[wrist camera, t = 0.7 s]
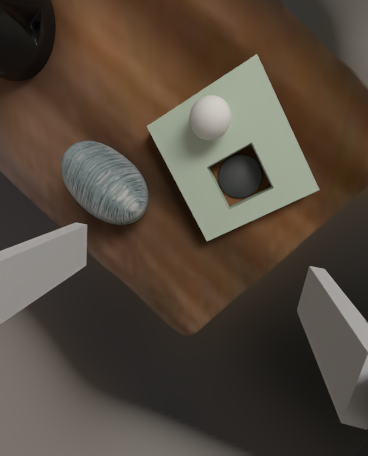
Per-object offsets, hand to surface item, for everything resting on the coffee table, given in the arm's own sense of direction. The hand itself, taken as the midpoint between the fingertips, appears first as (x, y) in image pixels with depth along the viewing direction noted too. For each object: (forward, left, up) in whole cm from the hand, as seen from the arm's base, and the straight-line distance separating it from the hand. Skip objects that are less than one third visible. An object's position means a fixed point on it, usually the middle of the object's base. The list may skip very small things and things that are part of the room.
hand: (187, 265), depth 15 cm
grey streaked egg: (-10, -13, -25) cm, 30 cm away
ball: (-10, +4, -19) cm, 22 cm away
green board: (-5, +4, -25) cm, 26 cm away
